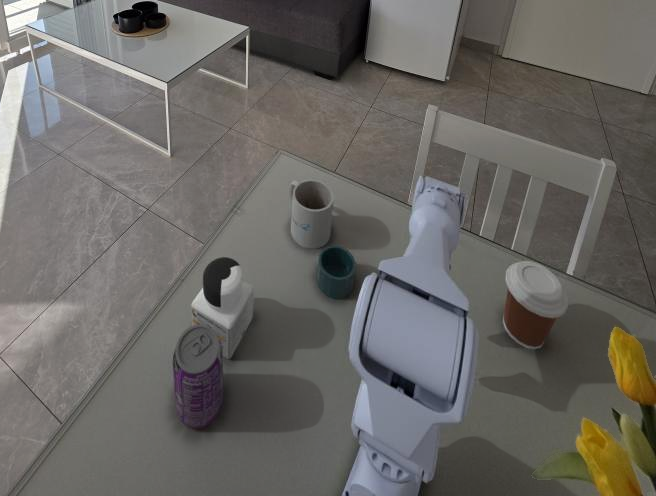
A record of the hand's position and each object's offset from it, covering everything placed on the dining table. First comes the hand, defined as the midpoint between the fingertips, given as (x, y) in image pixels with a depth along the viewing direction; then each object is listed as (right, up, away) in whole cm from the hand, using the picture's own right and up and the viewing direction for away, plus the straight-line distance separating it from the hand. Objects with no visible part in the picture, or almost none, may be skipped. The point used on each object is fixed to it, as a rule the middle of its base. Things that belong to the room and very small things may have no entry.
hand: (416, 316), depth 67 cm
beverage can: (-34, -11, -3) cm, 36 cm away
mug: (-15, -1, +28) cm, 32 cm away
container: (-31, -8, +7) cm, 33 cm away
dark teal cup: (-11, -5, +16) cm, 20 cm away
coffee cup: (+22, -9, +9) cm, 25 cm away
